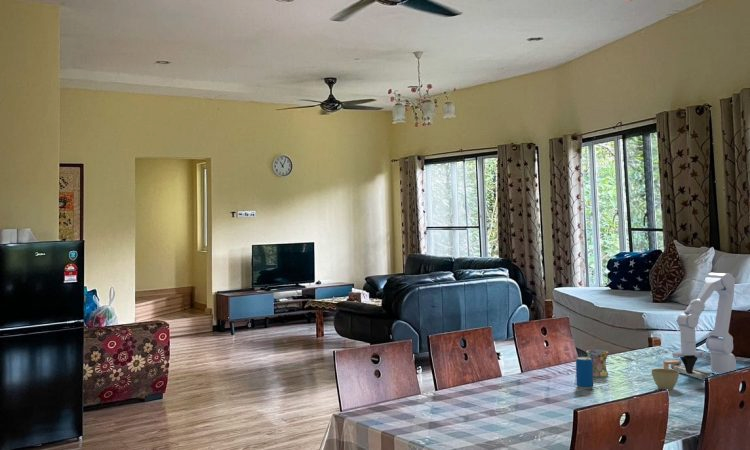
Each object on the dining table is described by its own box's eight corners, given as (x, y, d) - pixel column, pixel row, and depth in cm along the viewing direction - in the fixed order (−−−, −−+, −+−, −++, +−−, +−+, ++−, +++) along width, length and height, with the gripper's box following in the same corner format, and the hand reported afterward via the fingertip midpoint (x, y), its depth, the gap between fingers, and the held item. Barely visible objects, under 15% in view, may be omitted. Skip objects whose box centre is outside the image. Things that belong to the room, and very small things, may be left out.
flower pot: (676, 393, 236) (676, 374, 236) (649, 389, 242) (648, 371, 243) (682, 387, 244) (681, 370, 244) (655, 384, 250) (654, 367, 250)
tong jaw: (675, 371, 271) (675, 367, 271) (681, 371, 271) (680, 366, 271) (700, 379, 255) (700, 374, 255) (706, 379, 255) (706, 374, 255)
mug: (596, 372, 275) (595, 349, 276) (613, 376, 267) (613, 352, 268) (578, 376, 269) (577, 352, 270) (595, 380, 261) (594, 355, 262)
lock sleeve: (677, 368, 279) (676, 360, 279) (680, 369, 276) (680, 361, 276) (663, 369, 277) (663, 361, 277) (667, 370, 274) (667, 362, 275)
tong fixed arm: (674, 368, 279) (674, 363, 279) (710, 378, 258) (710, 372, 258) (666, 369, 277) (666, 364, 278) (701, 379, 257) (701, 373, 257)
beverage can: (594, 389, 245) (593, 359, 245) (577, 389, 246) (576, 359, 247) (592, 385, 252) (591, 356, 252) (575, 385, 253) (574, 356, 253)
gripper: (695, 339, 268) (696, 370, 267) (667, 341, 264) (668, 372, 264) (707, 341, 261) (708, 373, 260) (679, 343, 257) (680, 376, 257)
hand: (689, 373), depth 262 cm, fingers closed
